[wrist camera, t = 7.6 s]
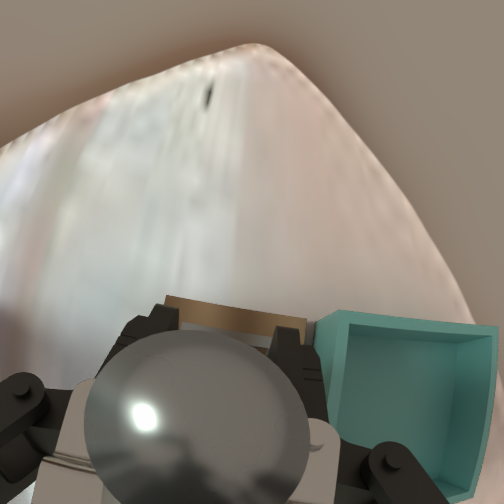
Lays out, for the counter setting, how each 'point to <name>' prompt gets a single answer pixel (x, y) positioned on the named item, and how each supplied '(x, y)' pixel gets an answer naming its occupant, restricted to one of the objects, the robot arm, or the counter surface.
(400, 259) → the counter surface
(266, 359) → the tube
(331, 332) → the bin
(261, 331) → the square framed wooden base
